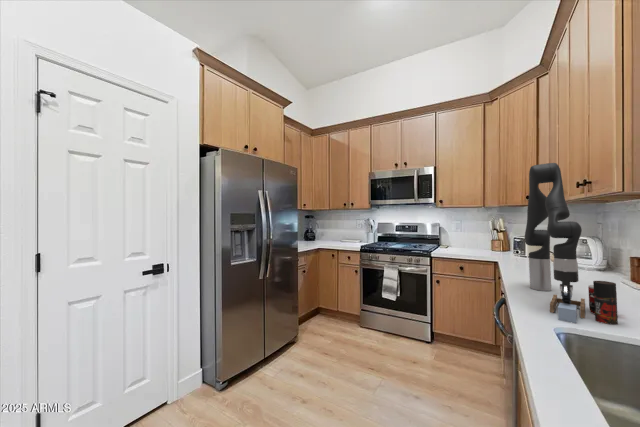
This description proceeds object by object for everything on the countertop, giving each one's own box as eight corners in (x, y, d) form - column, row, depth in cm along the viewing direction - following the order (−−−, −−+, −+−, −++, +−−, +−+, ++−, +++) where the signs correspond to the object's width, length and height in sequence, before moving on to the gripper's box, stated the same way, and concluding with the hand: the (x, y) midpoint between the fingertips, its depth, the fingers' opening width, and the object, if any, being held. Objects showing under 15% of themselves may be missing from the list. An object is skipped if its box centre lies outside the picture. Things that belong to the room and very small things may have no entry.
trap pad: (558, 303, 122) (558, 302, 123) (579, 306, 117) (579, 305, 117) (557, 305, 119) (557, 305, 119) (579, 309, 114) (579, 308, 114)
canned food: (591, 309, 114) (590, 283, 114) (619, 314, 108) (617, 287, 108) (587, 313, 110) (586, 286, 110) (615, 318, 103) (614, 290, 103)
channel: (554, 301, 125) (553, 294, 125) (585, 306, 117) (584, 298, 117) (550, 312, 111) (549, 304, 112) (584, 318, 104) (584, 309, 104)
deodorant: (591, 319, 103) (589, 281, 103) (600, 317, 104) (599, 280, 105) (612, 325, 97) (610, 284, 97) (621, 323, 99) (619, 283, 99)
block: (560, 314, 109) (559, 302, 109) (577, 317, 105) (576, 305, 105) (558, 320, 103) (557, 307, 103) (576, 323, 100) (575, 310, 100)
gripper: (554, 266, 117) (556, 305, 116) (552, 270, 107) (553, 313, 107) (578, 267, 111) (580, 308, 111) (577, 272, 102) (579, 317, 102)
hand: (567, 310), depth 109 cm, fingers closed
